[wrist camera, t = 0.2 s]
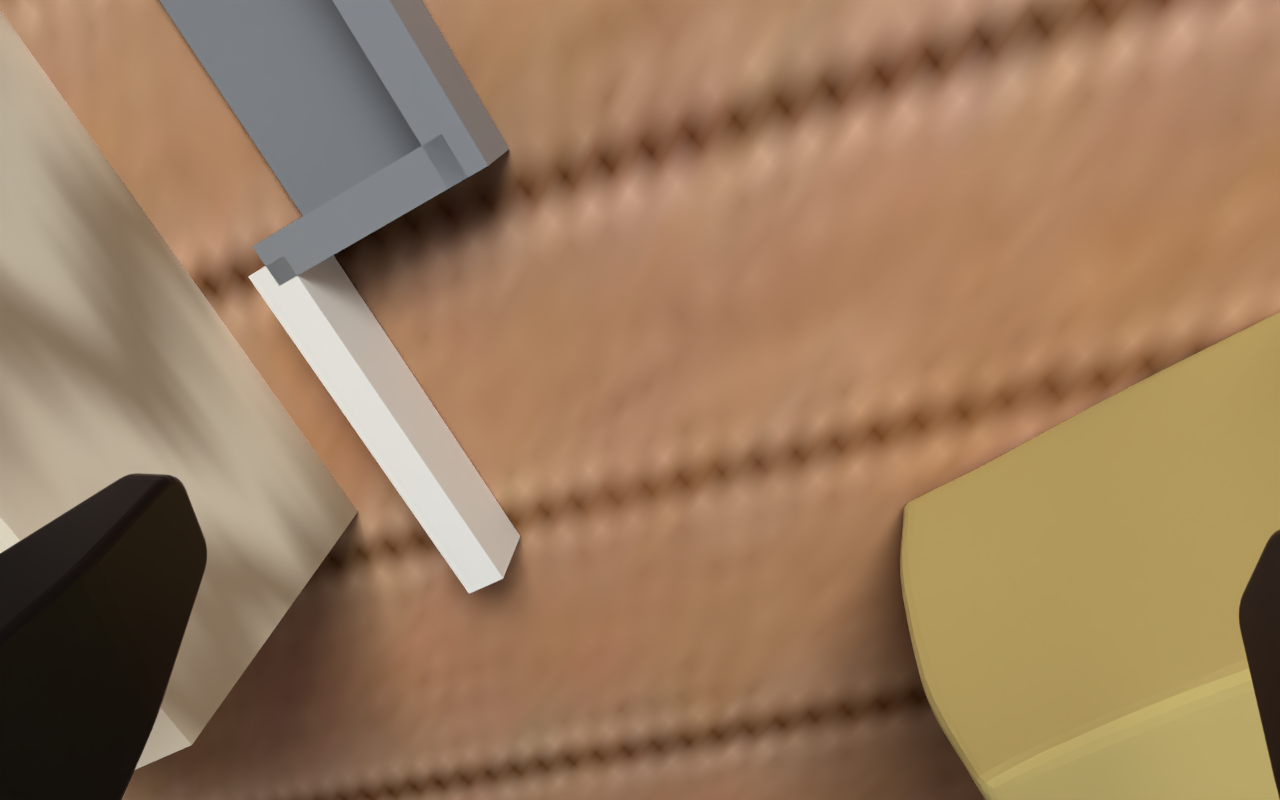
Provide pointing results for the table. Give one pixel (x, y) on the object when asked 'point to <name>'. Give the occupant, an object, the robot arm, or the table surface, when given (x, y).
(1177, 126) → the table surface
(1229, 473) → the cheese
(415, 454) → the low angular wall frame
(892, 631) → the table surface
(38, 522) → the birch block
